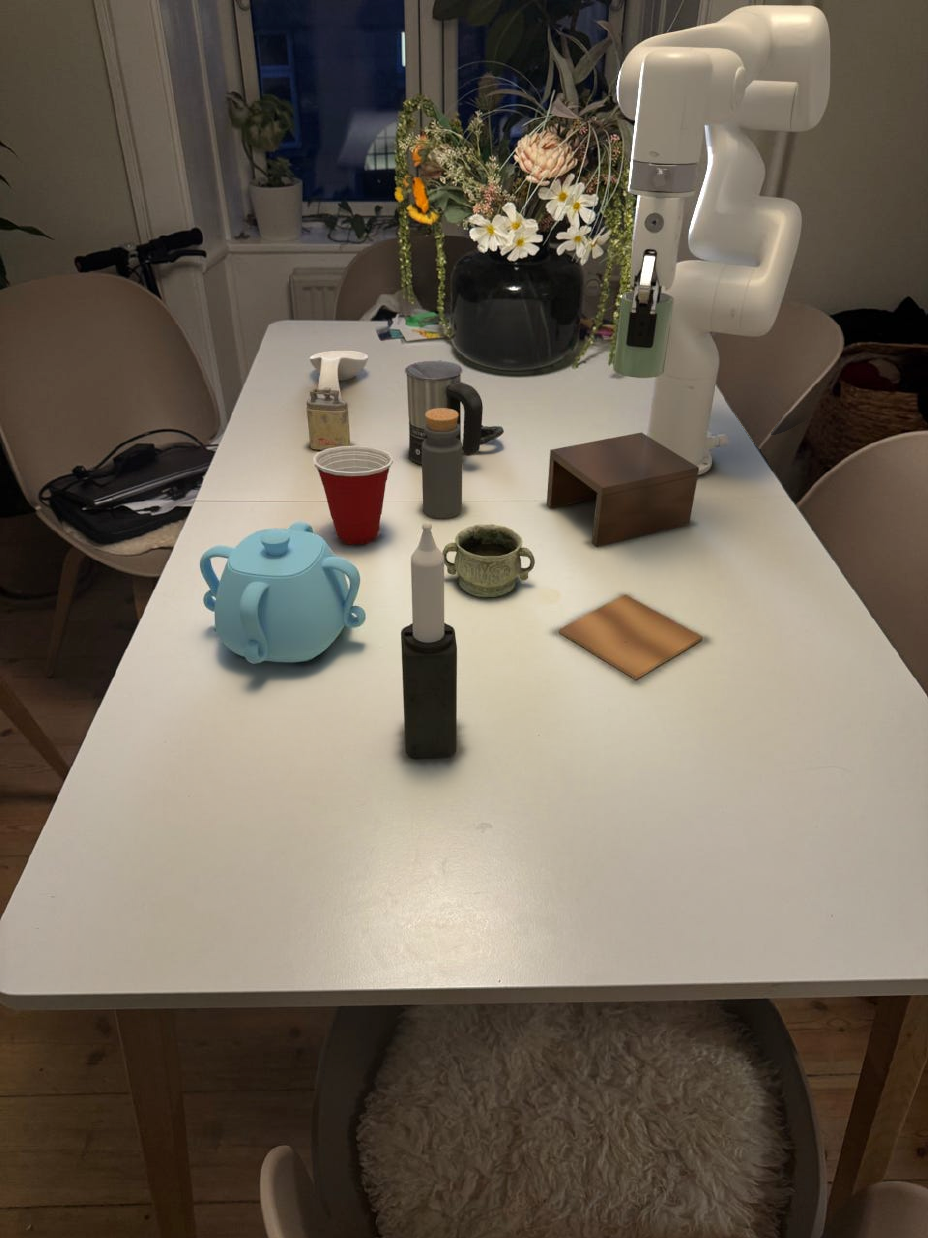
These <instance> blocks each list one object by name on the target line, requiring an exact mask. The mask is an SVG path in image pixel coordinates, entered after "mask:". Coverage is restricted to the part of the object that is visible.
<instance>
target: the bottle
mask: <svg viewBox="0 0 928 1238" xmlns="http://www.w3.org/2000/svg"><path fill="white" fill-rule="evenodd" d="M458 416H459V414H458V412H457V411H455V410H452V409H447V408H437V409H432V410H429V411H427V412H426V413H425V417H426V422H427V423H426V424H425V425H424V433H425V435H426V436H428V438H426V439H425V440H424V441H423V442H422V464H421V478H422V479H421V482H422V483H421V484H422V485H421V486H422V487H421V489H422V510H423V513H424V514H425V515H426V516H427V517H430V518H433V519H442V520H443V519H452V518H455V517H456V516H459V515H460V514H461V513H462V509H463V456H462V452H463V450H462V446H463V441H462V440H461V441H460V440H459V439H458V438H456V436H458V435H459V433H460V426H459V424H458V423H457V421H458Z"/></svg>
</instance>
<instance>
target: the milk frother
mask: <svg viewBox="0 0 928 1238" xmlns="http://www.w3.org/2000/svg"><path fill="white" fill-rule="evenodd" d="M463 370H464V369H463V367H462V366H461V365H459V364H457V363H455V362H451V361H445V360H424V361H418V362H414V363H412V364H409V365H407V366H406V367H405V368H404V373H405V374H406V390H407V413H408V441H409V442H408V447H409V448H408V452H407V457H408V459H409V460H411V462H414V463H416V464H419V465H422V442H423V441H424V440H425V439H426V438H428V436H426V435H425V433H424V425H425V424H426V423H427V422H426V417H425V413H426V412H427V411H429V410H432V409H437V408H447V409H452V410H455V411H457V412H458V414H459V416H458V421H457V423H458V424H459V426H460V433H459V435H458V436H456V438H458V439H459V440H460V441H461V442H462V457H464V456H469V457H470V456H472V455H475V454H476V453H478V452H479V451H480V449H481V445H483V444H487V443H489V442H491V441H494V440H496V439H498V438H499V437H500V436H502V435H503V434H504V432H505V430H504V428H503V427H502V426H500V425H491V426H489V425H488V426H487V425H485V426H484V425H483V413H484V406H483V405H484V404H483V400H482V398H481V395H480V394H479V392H478V391H477V389H476V388H474V386H472V385H470V384H468V383H466V382H462V379H461V378H462V377H461V376H462V373H463ZM461 405H462V406H461ZM461 407H462V408H463V432H462V430H461V429H462V426H461V423H462V422H461V421H462V418H461V417H462V416H461V415H462V414H461V412H462V411H461V409H462V408H461ZM462 433H463V434H462ZM462 437H463V438H462ZM463 454H464V455H463Z"/></svg>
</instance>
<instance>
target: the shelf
mask: <svg viewBox="0 0 928 1238" xmlns="http://www.w3.org/2000/svg"><path fill="white" fill-rule="evenodd" d="M548 463H549V465H548V478H547V479H548V480H547V491H546V492H547V493H546V494H547V495H546V507H548V508H549V509H554V508H559V507H562V506H567V505H572V504H577V503H582V502H586V501H590V500H591V501H592V500H595V499H596V501H595V510H594V519H593V528H592V529H593V530H592V538H591V544H593V546H594V547H601V546H605V545H609V544H613V543H618V542H622V541H625V540H630V539H634V538H638V537H642V536H647V535H650V534H654V533H659V532H663V531H666V530H672V529H677V528H680V527H685V526H688V525H690V523H691V518H692V516H691V515H692V511H693V505H694V499H695V494H696V489H697V484H698V477H699V475H698V471H699V467H697V466H696V465H694V464H692V463H691V462H689V461H687V460H686V459H684V458H683V457H681V456H679V455H678V454H676V453H674V452H673V451H671V450H669V449H668V448H666V447H665V446H663V445H661V444H660V443H658V442H656V441H655V440H653V439H651V438H650V437H648V436H647V434H645V433H643V432H637V433H631V434H625V435H621V436H615V437H609V438H605V439H600V440H599V439H598V440H594V441H589V442H584V443H583V442H582V443H578V444H573V445H568V446H563V447H558V448H557V447H556V448H552V449H550V452H549V462H548Z"/></svg>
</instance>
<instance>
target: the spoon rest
mask: <svg viewBox="0 0 928 1238" xmlns="http://www.w3.org/2000/svg"><path fill="white" fill-rule="evenodd" d="M368 361H369V355H368V354H366V353H364V352H361V351H355V350H332V351H331V350H330V351H322V352H319V353H315V354H312V355H311V356H310V357H309V362H310V364H311V365H312V367H313V368H314V369H315V370H316V371H317V372H318V373H319V378H318V384H317V389H324V388H331V390H337V391H339V395H338V399H343V398H342V392H341V387H340V382H339V381H348V380H351V379H353V378H354V377H355V376H356V375H358V374H359V373H361V372H362V371H363V369H364V368H365V367H366V366H367V363H368ZM317 397H318V398H326V397H325V396H324V394H317ZM330 398H332V399H334V397H333V396H330Z"/></svg>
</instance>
